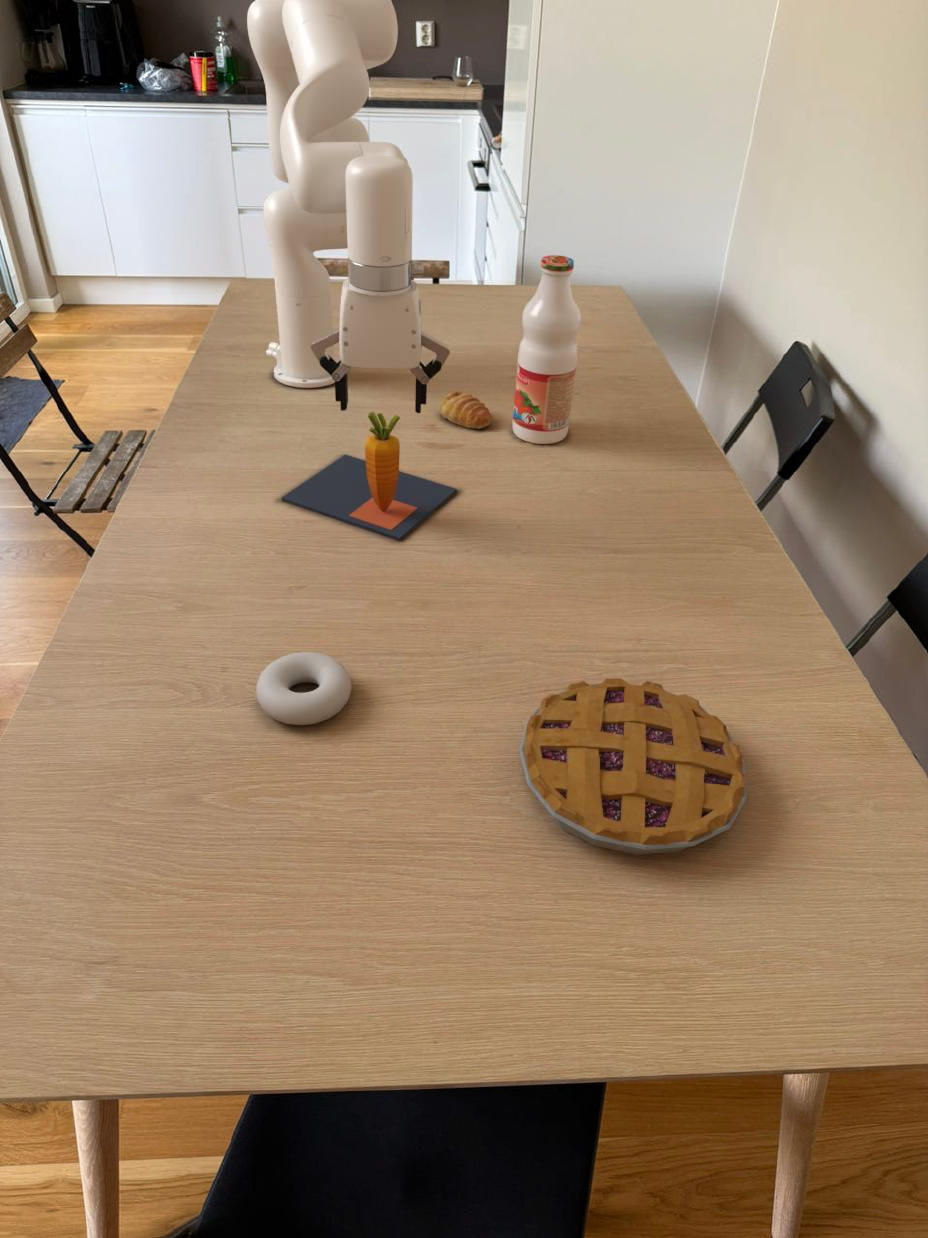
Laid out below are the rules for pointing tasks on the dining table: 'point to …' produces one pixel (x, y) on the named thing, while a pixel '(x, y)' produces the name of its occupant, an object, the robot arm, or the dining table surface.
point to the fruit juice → (547, 357)
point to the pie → (633, 766)
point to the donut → (309, 704)
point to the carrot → (382, 460)
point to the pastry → (465, 410)
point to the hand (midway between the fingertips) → (381, 407)
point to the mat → (369, 498)
